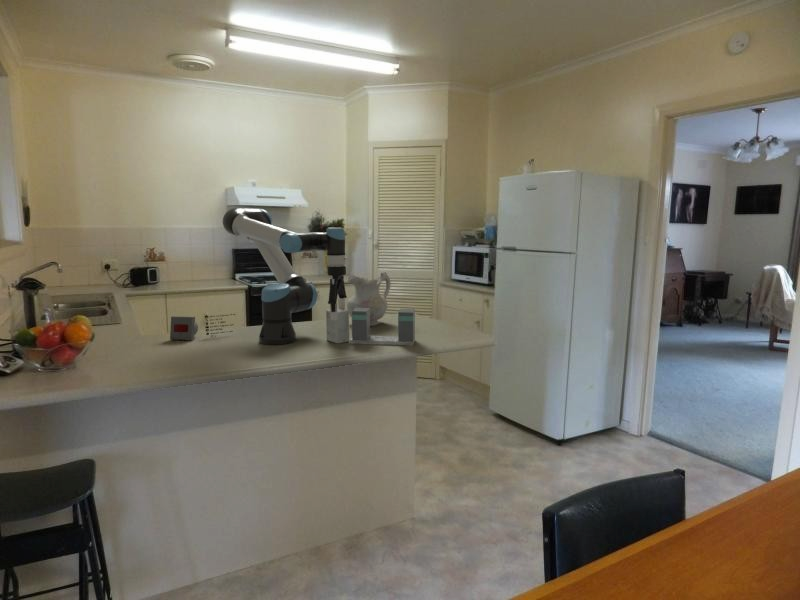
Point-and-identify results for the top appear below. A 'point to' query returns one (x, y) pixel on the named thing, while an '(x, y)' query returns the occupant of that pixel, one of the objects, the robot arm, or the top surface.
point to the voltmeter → (188, 327)
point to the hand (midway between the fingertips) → (338, 316)
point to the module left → (360, 323)
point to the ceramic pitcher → (369, 296)
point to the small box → (338, 326)
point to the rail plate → (382, 341)
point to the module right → (406, 325)
